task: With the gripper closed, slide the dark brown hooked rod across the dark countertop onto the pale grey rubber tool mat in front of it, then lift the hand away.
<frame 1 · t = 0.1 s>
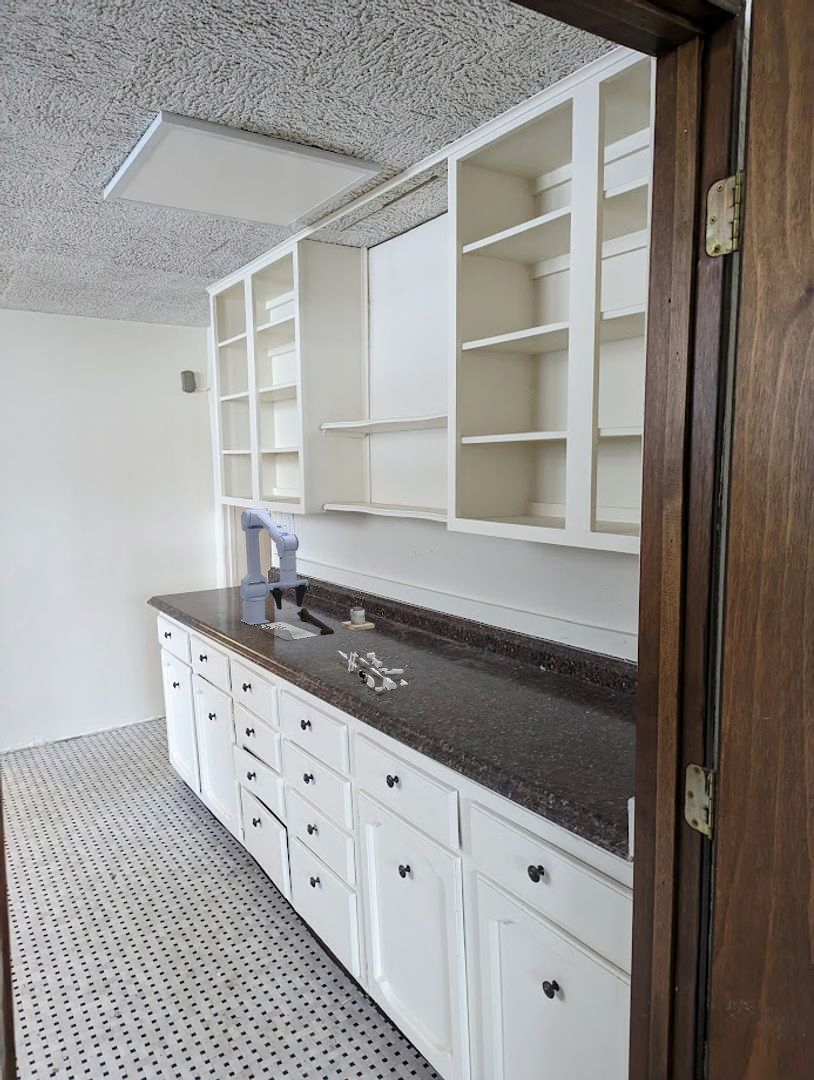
hand: (289, 607, 248), 10 cm above the counter, tool pointing down, fingers open, 7 cm apart
dark brown hooked rod: (311, 628, 263), on the counter
tool mat: (284, 631, 256), on the counter
cup on beige base: (357, 627, 261), on the counter
miniature set: (374, 676, 202), on the counter
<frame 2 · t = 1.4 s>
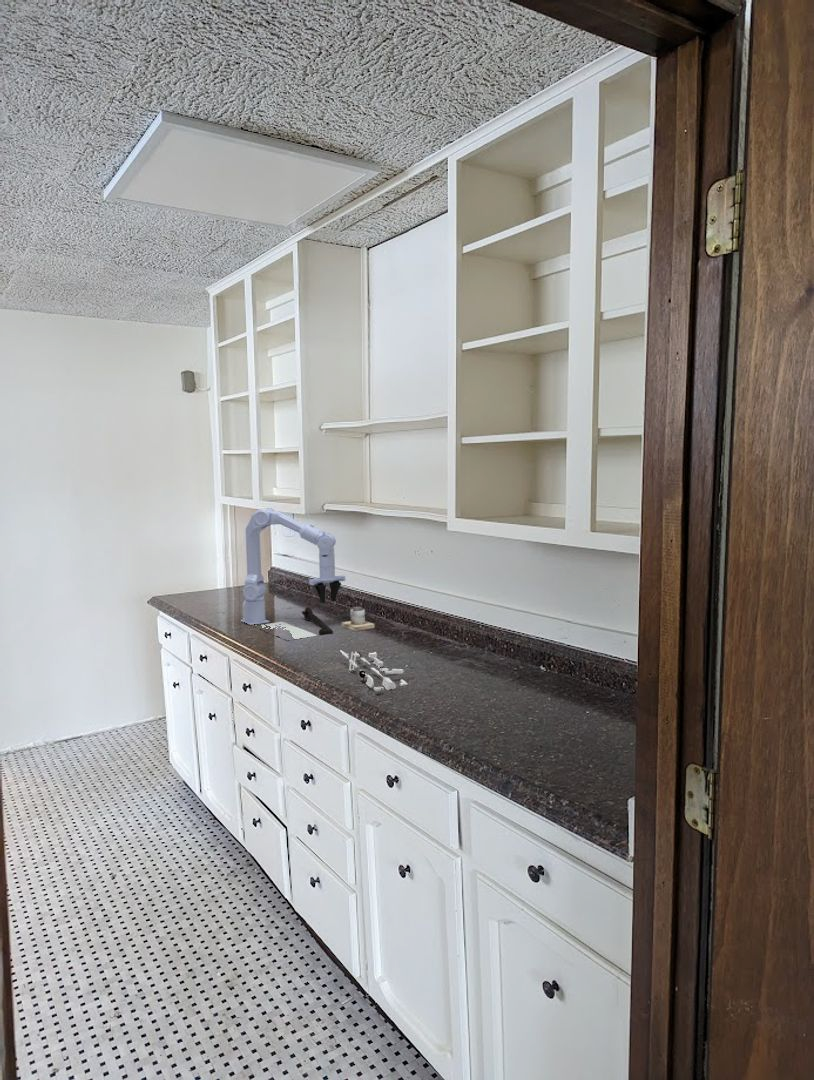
hand: (328, 601, 266), 8 cm above the counter, tool pointing down, fingers open, 4 cm apart
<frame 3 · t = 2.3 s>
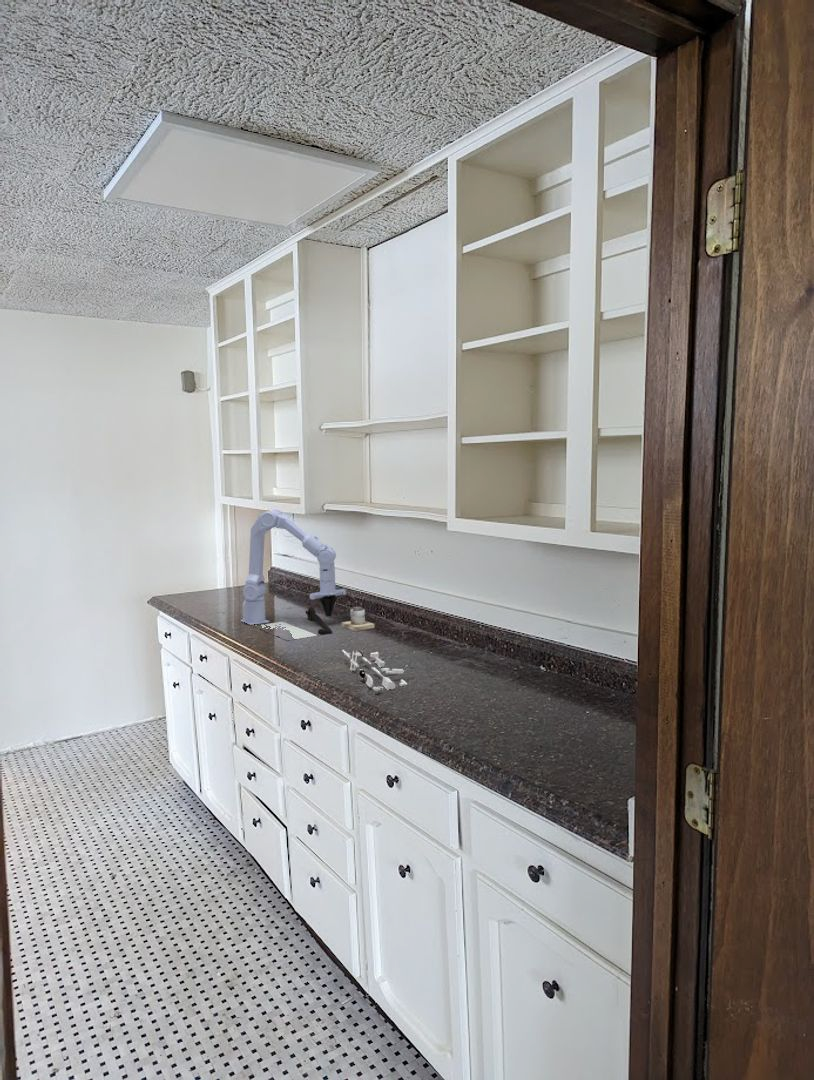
hand: (328, 615, 267), 3 cm above the counter, tool pointing down, fingers closed
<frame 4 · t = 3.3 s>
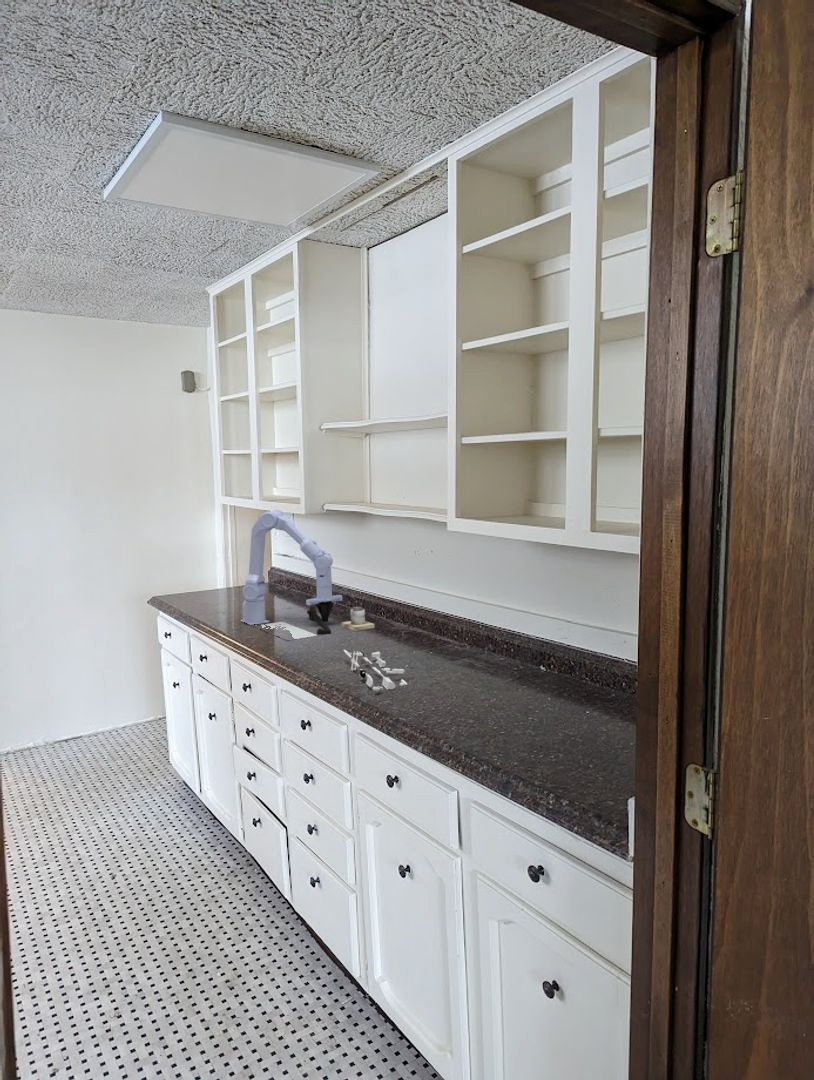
hand: (325, 621, 266), 1 cm above the counter, tool pointing down, fingers closed
dark brown hooked rod: (315, 626, 265), on the counter, touching gripper
everything else where it was.
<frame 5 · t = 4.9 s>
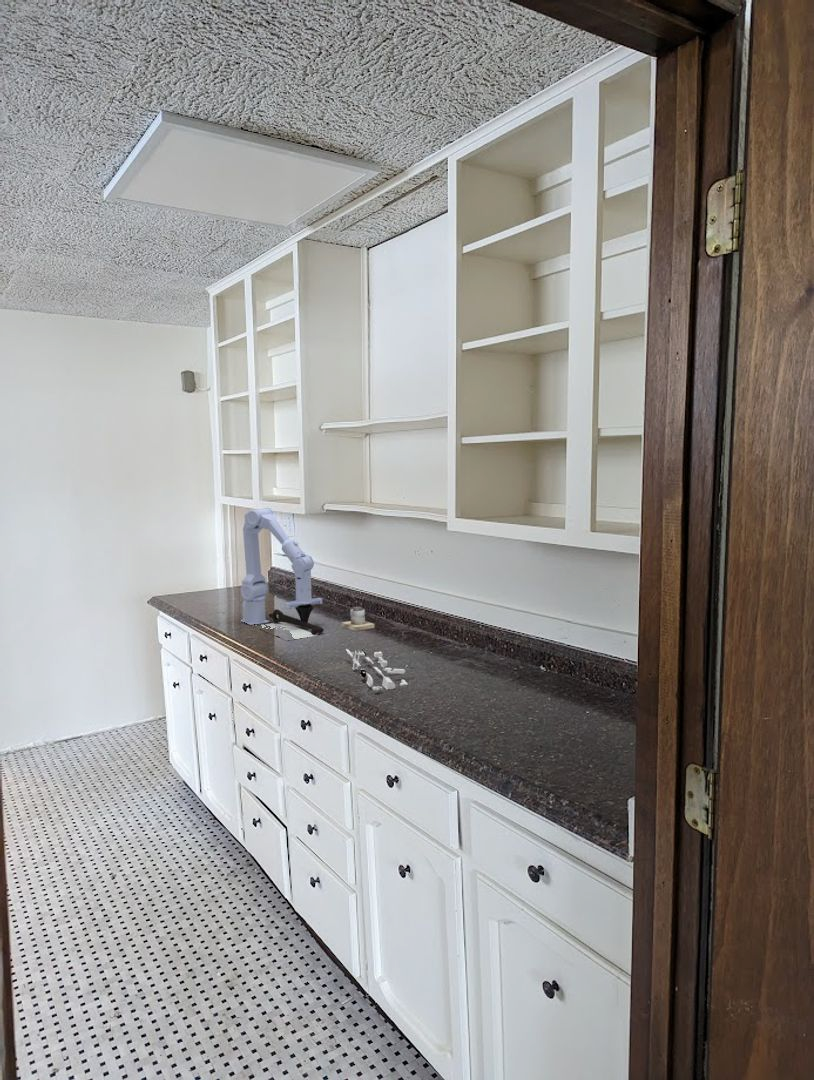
hand: (304, 625, 261), 1 cm above the counter, tool pointing down, fingers closed
dark brown hooked rod: (292, 628, 260), resting on tool mat, touching gripper
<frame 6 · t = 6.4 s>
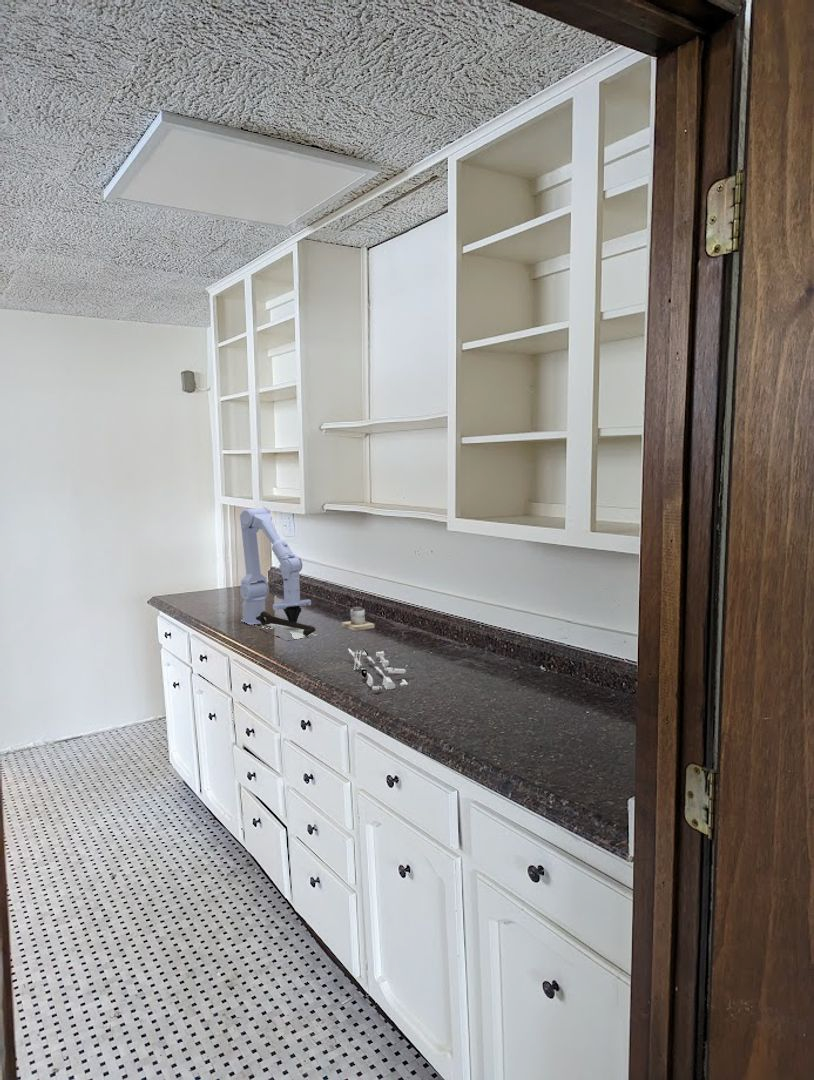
hand: (292, 626, 258), 1 cm above the counter, tool pointing down, fingers closed
dark brown hooked rod: (283, 630, 257), resting on tool mat, touching gripper
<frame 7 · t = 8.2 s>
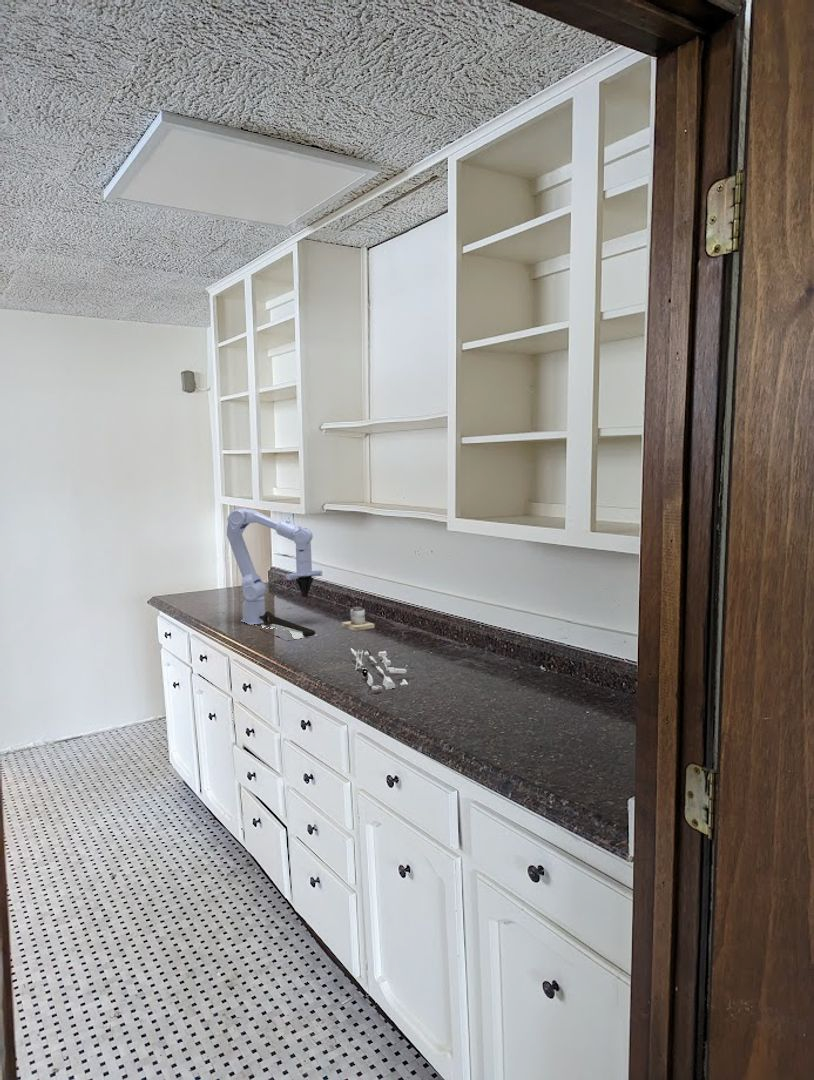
hand: (304, 596, 267), 10 cm above the counter, tool pointing down, fingers closed
dark brown hooked rod: (283, 630, 257), resting on tool mat
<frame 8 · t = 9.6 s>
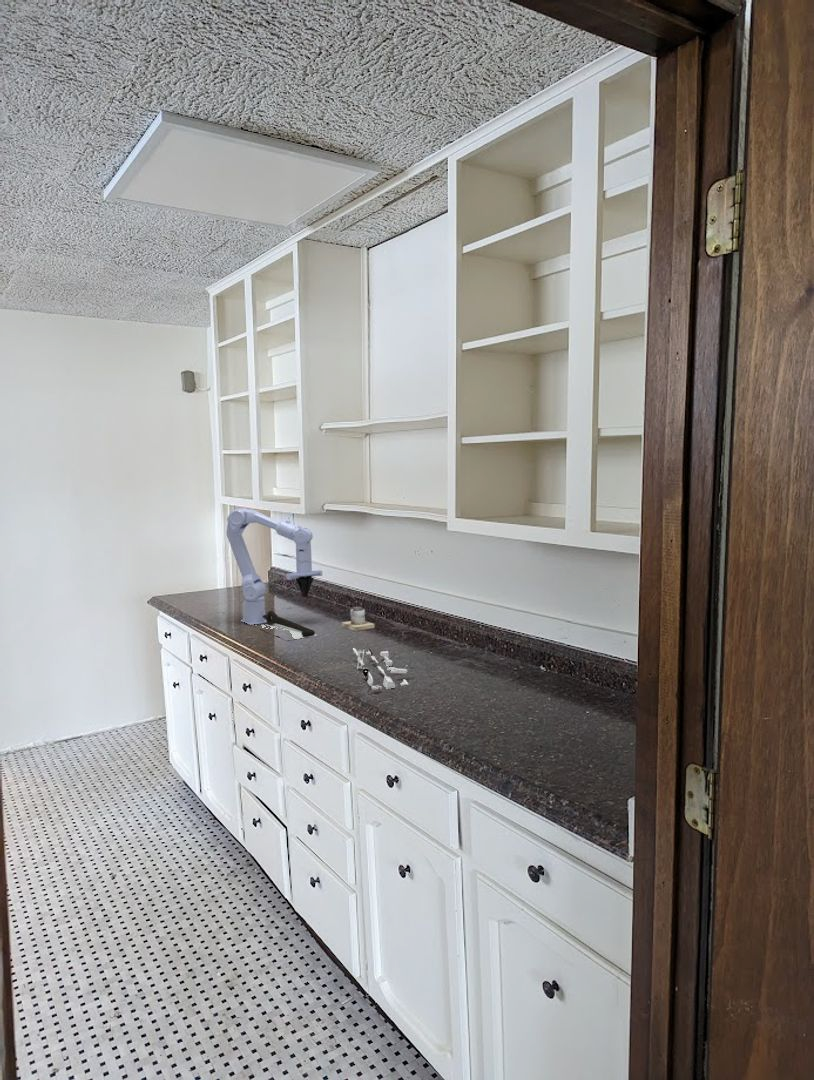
hand: (304, 596, 267), 10 cm above the counter, tool pointing down, fingers closed
at the end: dark brown hooked rod inside the target area on the tool mat (1.1 cm from its centre), point 0.0 cm above the tool mat's base; dark brown hooked rod tilted 0° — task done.
